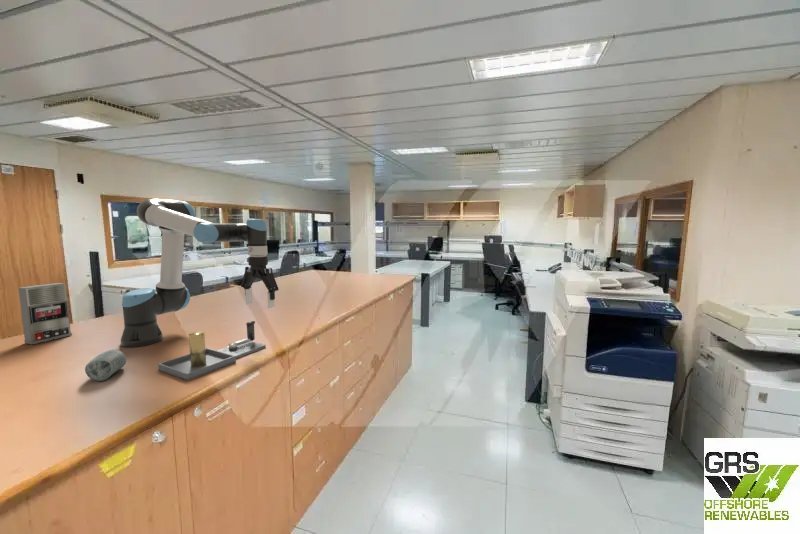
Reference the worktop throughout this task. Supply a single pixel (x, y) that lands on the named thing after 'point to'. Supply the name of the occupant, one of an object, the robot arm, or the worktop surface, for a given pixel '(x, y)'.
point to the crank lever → (249, 336)
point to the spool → (105, 365)
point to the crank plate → (243, 349)
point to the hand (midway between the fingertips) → (260, 305)
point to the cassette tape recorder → (44, 312)
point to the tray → (184, 370)
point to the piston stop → (197, 349)
